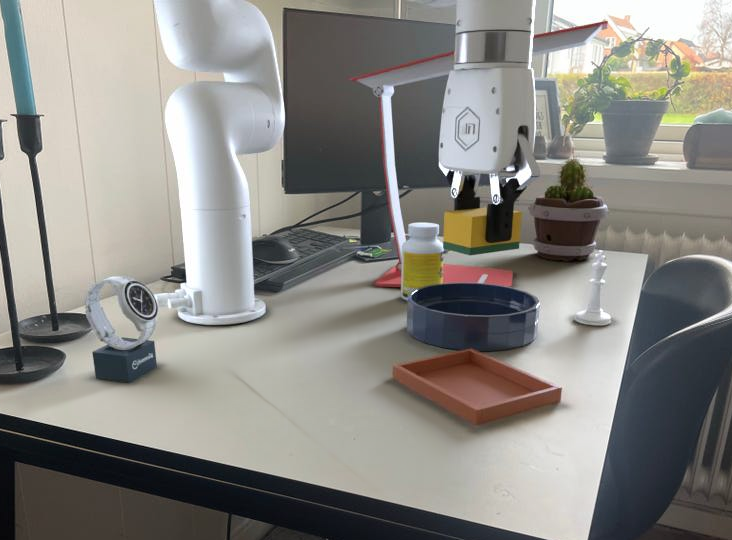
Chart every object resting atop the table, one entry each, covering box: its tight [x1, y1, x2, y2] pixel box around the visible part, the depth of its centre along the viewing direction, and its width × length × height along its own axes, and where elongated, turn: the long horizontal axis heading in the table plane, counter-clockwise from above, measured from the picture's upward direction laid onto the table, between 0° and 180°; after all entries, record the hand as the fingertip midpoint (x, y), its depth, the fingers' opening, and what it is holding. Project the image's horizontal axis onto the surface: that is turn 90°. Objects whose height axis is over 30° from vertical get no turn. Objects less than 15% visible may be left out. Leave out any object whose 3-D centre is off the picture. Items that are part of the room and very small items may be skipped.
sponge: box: [442, 207, 523, 256], centre depth 76 cm, size 7×4×4 cm, turn 122°
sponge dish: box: [391, 348, 563, 426], centre depth 75 cm, size 11×14×2 cm
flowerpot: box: [527, 153, 610, 262], centre depth 139 cm, size 14×15×20 cm
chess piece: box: [574, 250, 612, 327], centre depth 99 cm, size 5×5×10 cm
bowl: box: [406, 282, 541, 352], centre depth 94 cm, size 17×17×5 cm
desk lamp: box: [349, 20, 609, 288], centre depth 116 cm, size 18×38×40 cm, turn 72°
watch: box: [84, 275, 159, 384], centre depth 79 cm, size 6×8×11 cm
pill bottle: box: [400, 222, 445, 302], centre depth 109 cm, size 6×6×12 cm
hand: (481, 235), depth 77 cm, fingers closed on sponge, 4 cm apart
